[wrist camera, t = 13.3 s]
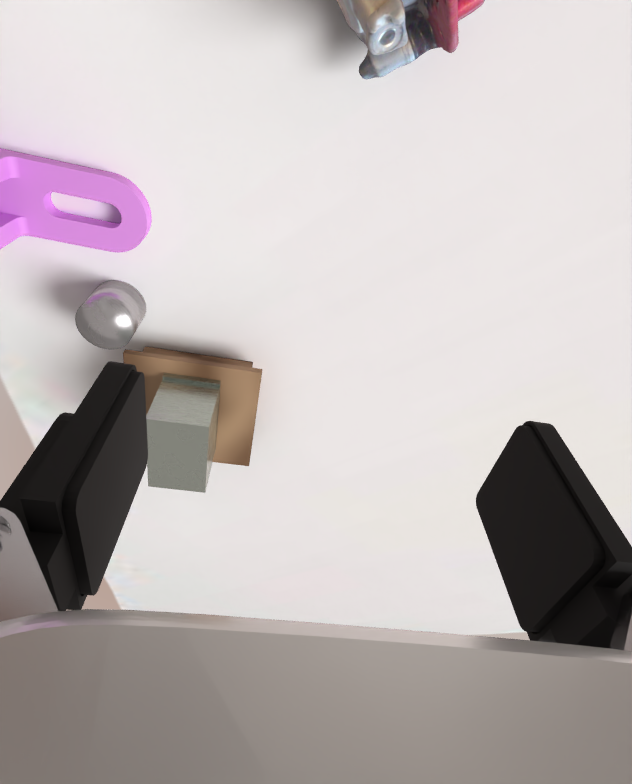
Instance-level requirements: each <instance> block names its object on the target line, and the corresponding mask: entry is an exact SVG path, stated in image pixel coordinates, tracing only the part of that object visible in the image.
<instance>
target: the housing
mask: <svg viewBox="0 0 632 784" xmlns="http://www.w3.org/2000/svg"><path fill="white" fill-rule="evenodd" d="M220 385H221V380H214V379H206V378H199V377H192V376H185V375H178V374H171V373H164V374H163V379H162V382H161V384H160V386H159V388H158V391H157V393H156V395H155V397H154V400H153V402H152V404H151V406H150V409H149V411H148V413H147V415H146V419H147V441H148V460H147V467H148V486H151V487H160V488H169V489H178V490H187V491H196V492H205V491H206V487H207V483H208V478H209V474H210V470H211V466H212V461H213V457H214V453H215V450H216V439H217V426H218V412H219V399H220Z"/></svg>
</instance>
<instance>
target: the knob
mask: <svg viewBox="0 0 632 784" xmlns="http://www.w3.org/2000/svg"><path fill="white" fill-rule="evenodd" d="M145 314H146V304H145V301H144V298H143V297H142V295H141V294H140V293H139V291H138V290H137V289H135V288H134V287H133V286H131V285H130V284H128V283H125V282H122V281H117V280H111V281H106V282H104V283H102V284H100V285H99V286H98V287H97V288H96V290H95V291H94V292H93V293H92V294H91V295H90V296H89V297H88V299H87V300H86V301H85V302H84V303H83V304H82V305H81V306H80V308H79V309H78V310H77V313H76V317H75V321H76V326H77V328H78V330H79V332H80V333H81V335H82V336H83V337H84V338H85V339H86V340H87V341H89V342H90V343H92V344H93V345H95V346H97V347H100V348H104V349H118V348H121V347H123V346H125V345H126V344H127V343H128V342H129V341H130V339H131V338H132V336H133V334H134V333H135V331H136V330H137V328H138V326H139V325H140V323H141V321H142V320H143V318H144V316H145Z"/></svg>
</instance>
